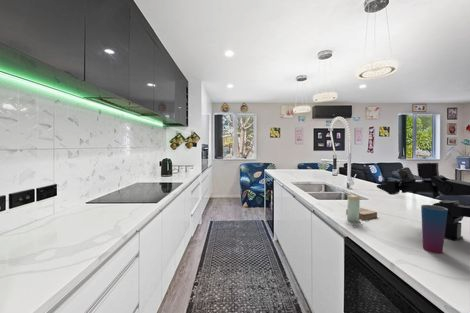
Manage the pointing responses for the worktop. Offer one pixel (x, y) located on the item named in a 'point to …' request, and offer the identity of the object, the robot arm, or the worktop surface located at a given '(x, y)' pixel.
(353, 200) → the cream-capped mint cylinder
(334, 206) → the worktop surface
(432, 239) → the cup
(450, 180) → the robot arm
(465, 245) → the worktop surface
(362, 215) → the base
